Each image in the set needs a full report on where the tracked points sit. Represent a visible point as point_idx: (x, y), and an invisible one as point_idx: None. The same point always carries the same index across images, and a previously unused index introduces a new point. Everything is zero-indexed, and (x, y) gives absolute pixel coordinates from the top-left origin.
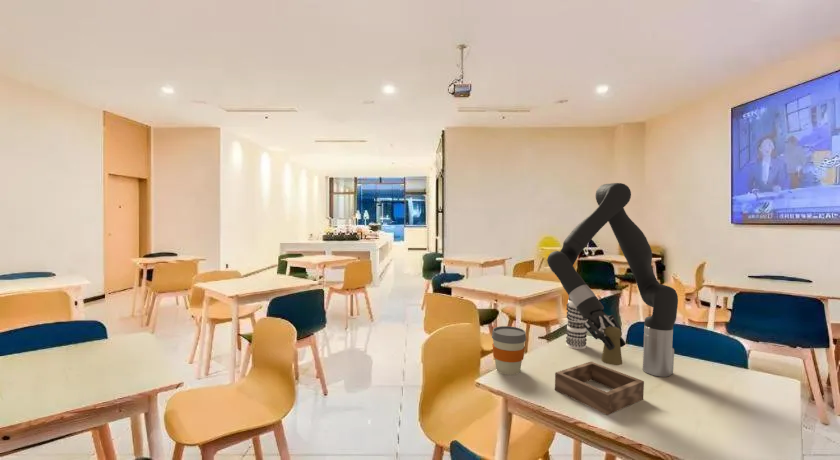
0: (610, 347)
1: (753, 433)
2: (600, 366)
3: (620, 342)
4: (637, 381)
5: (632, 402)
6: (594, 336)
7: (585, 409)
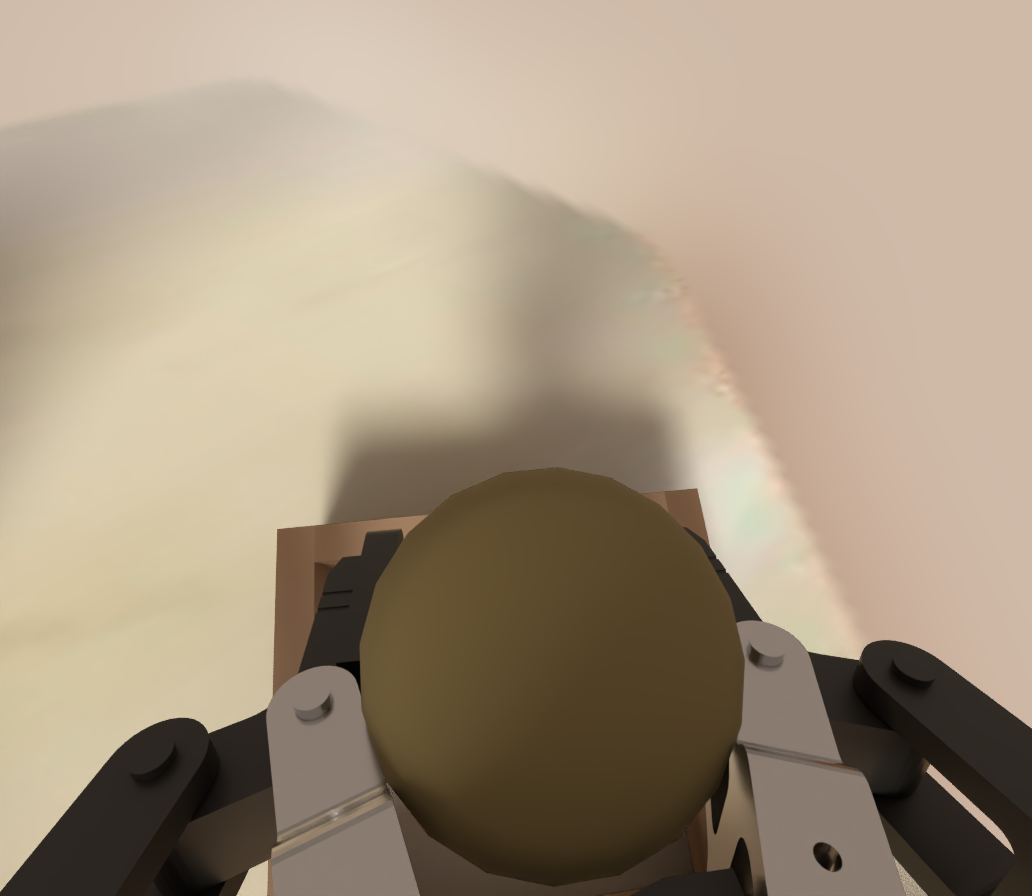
0: None
1: (221, 169)
2: None
3: None
4: (324, 546)
5: None
6: (927, 774)
7: None
